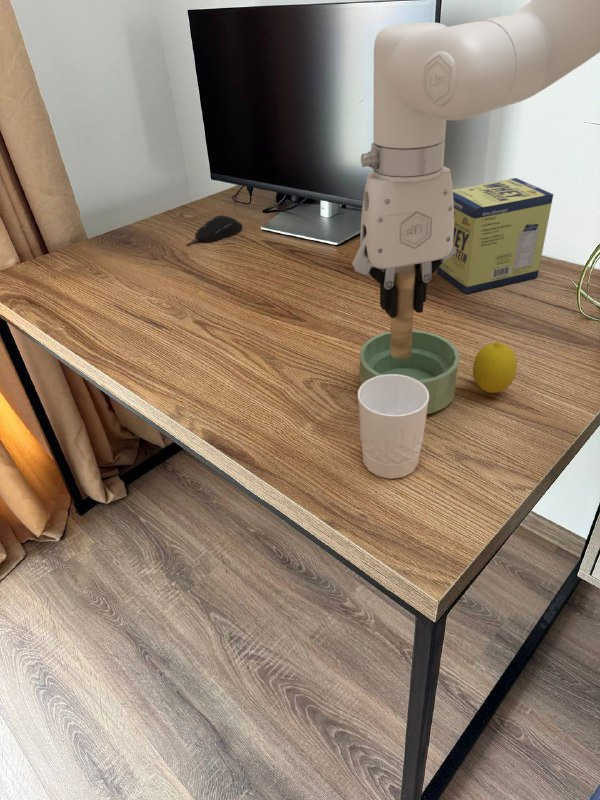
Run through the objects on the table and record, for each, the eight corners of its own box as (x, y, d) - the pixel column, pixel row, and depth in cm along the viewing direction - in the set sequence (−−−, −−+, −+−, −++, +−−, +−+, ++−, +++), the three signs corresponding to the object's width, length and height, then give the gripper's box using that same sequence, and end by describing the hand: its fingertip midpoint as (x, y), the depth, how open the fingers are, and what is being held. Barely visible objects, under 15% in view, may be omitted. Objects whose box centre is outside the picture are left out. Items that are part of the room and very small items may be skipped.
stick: (406, 346, 79) (409, 263, 72) (414, 356, 77) (419, 271, 70) (386, 350, 79) (388, 266, 72) (394, 361, 77) (397, 275, 70)
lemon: (516, 387, 81) (526, 337, 77) (504, 409, 78) (513, 358, 73) (477, 377, 84) (484, 328, 79) (463, 397, 80) (470, 347, 75)
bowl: (430, 357, 89) (433, 322, 85) (472, 408, 78) (477, 370, 75) (347, 374, 87) (347, 339, 83) (379, 428, 76) (380, 391, 73)
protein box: (435, 272, 112) (441, 190, 103) (505, 257, 116) (517, 176, 106) (465, 295, 104) (475, 208, 95) (539, 278, 108) (556, 192, 98)
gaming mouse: (179, 242, 133) (176, 225, 130) (232, 224, 140) (230, 207, 138) (194, 249, 129) (191, 232, 126) (248, 230, 136) (246, 213, 134)
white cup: (428, 444, 73) (434, 379, 67) (417, 488, 67) (422, 421, 61) (366, 434, 75) (367, 369, 69) (350, 475, 69) (349, 409, 64)
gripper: (347, 178, 59) (350, 336, 70) (494, 156, 62) (475, 312, 73) (326, 160, 65) (332, 309, 76) (461, 141, 68) (448, 287, 78)
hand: (402, 309), depth 74 cm, fingers closed on stick, 2 cm apart
